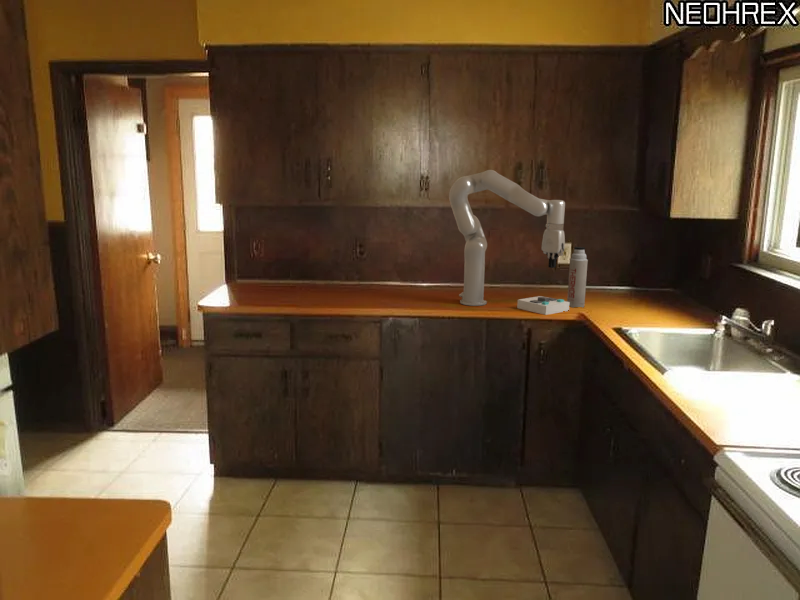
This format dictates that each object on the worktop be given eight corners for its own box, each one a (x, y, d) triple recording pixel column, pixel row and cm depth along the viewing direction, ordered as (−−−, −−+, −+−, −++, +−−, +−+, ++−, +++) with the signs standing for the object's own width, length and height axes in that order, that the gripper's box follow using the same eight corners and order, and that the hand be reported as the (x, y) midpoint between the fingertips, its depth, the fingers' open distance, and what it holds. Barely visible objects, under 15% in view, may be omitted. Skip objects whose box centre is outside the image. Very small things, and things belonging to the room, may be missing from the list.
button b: (537, 304, 304) (537, 297, 303) (542, 303, 306) (542, 296, 305) (544, 306, 301) (544, 298, 300) (549, 305, 302) (549, 298, 302)
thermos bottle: (573, 308, 307) (577, 248, 301) (563, 304, 314) (567, 246, 309) (587, 307, 310) (592, 247, 304) (577, 303, 317) (581, 245, 312)
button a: (529, 308, 301) (530, 300, 300) (534, 307, 303) (534, 299, 302) (536, 309, 298) (537, 302, 297) (541, 309, 300) (541, 301, 299)
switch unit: (517, 308, 305) (517, 297, 304) (540, 304, 315) (541, 293, 314) (545, 314, 292) (546, 303, 291) (569, 310, 302) (569, 299, 301)
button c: (544, 305, 307) (545, 298, 306) (549, 304, 309) (549, 297, 308) (551, 307, 304) (552, 299, 303) (556, 306, 306) (556, 299, 305)
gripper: (536, 226, 303) (534, 265, 307) (562, 229, 291) (559, 270, 295) (547, 225, 307) (544, 264, 311) (573, 228, 296) (570, 269, 299)
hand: (552, 267), depth 303 cm, fingers closed
